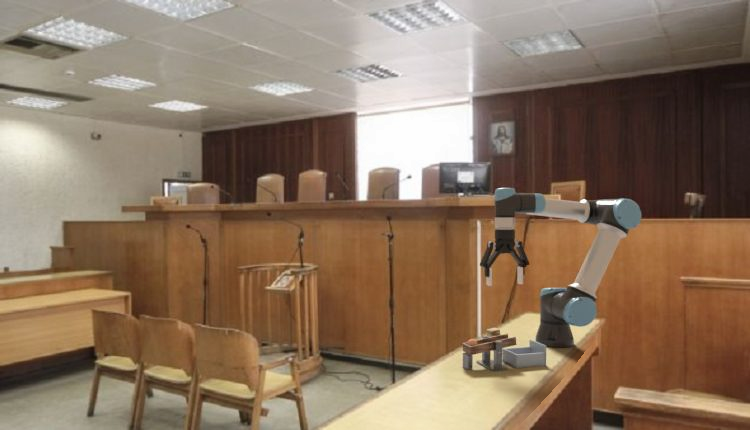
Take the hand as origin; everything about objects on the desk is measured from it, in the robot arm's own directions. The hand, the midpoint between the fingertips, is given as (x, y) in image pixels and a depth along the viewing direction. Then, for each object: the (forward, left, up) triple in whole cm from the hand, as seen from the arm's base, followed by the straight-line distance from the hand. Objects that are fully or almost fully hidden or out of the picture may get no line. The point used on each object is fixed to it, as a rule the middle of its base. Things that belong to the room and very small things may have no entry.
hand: (504, 284), depth 204 cm
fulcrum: (+16, +13, -26) cm, 33 cm away
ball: (+19, +13, -19) cm, 30 cm away
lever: (+14, +9, -20) cm, 26 cm away
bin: (0, +13, -26) cm, 29 cm away
